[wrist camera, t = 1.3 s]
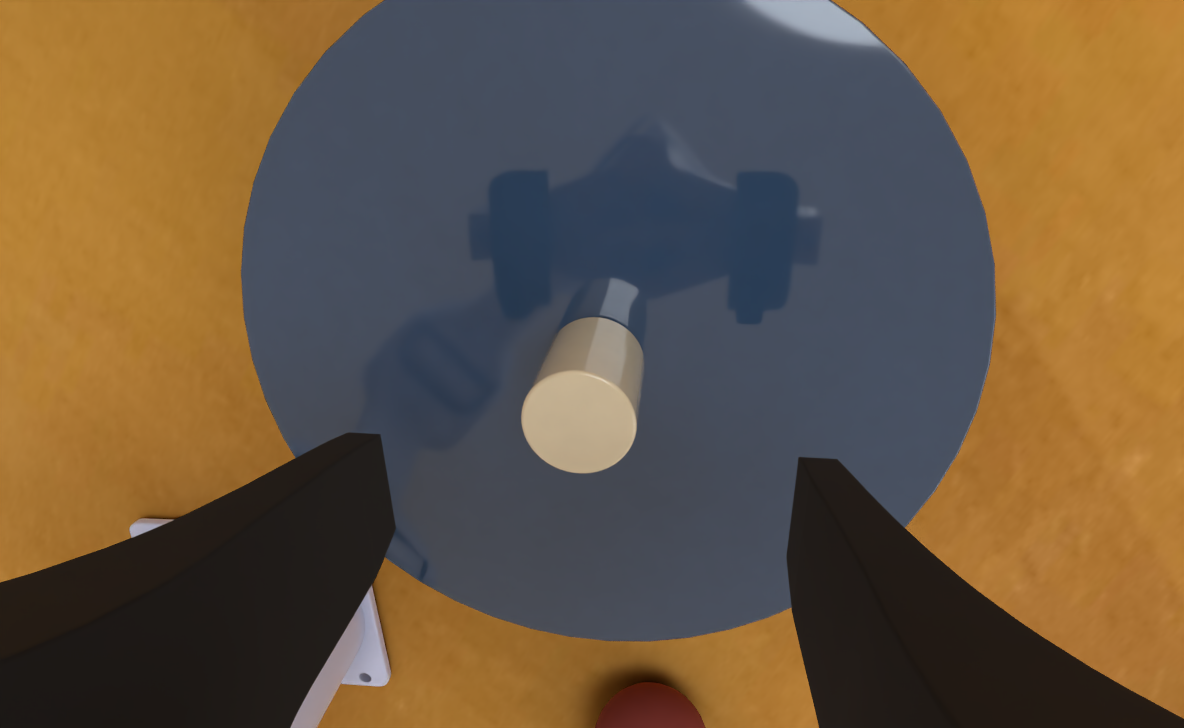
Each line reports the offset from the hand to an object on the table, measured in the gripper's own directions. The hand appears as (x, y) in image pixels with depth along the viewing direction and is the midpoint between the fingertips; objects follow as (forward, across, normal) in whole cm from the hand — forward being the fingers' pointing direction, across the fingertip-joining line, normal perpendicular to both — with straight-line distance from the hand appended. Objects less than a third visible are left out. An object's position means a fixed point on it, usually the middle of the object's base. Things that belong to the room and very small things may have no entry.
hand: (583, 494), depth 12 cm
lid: (+6, 0, 0) cm, 6 cm away
